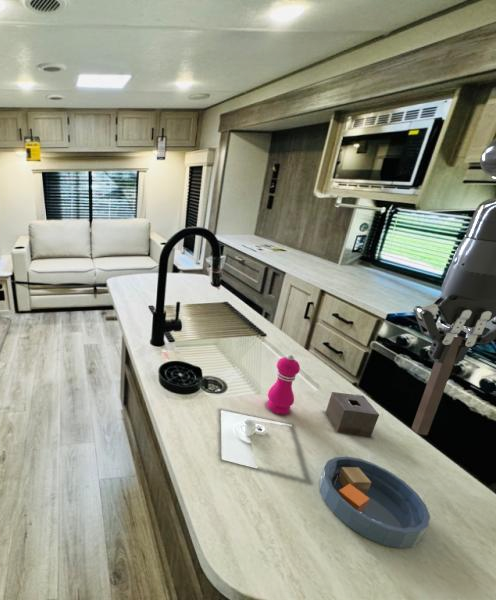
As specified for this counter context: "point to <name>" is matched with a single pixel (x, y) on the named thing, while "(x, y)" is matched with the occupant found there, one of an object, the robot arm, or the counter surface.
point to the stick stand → (351, 414)
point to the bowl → (377, 504)
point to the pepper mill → (283, 386)
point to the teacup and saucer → (240, 437)
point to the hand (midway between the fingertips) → (443, 360)
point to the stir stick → (435, 389)
